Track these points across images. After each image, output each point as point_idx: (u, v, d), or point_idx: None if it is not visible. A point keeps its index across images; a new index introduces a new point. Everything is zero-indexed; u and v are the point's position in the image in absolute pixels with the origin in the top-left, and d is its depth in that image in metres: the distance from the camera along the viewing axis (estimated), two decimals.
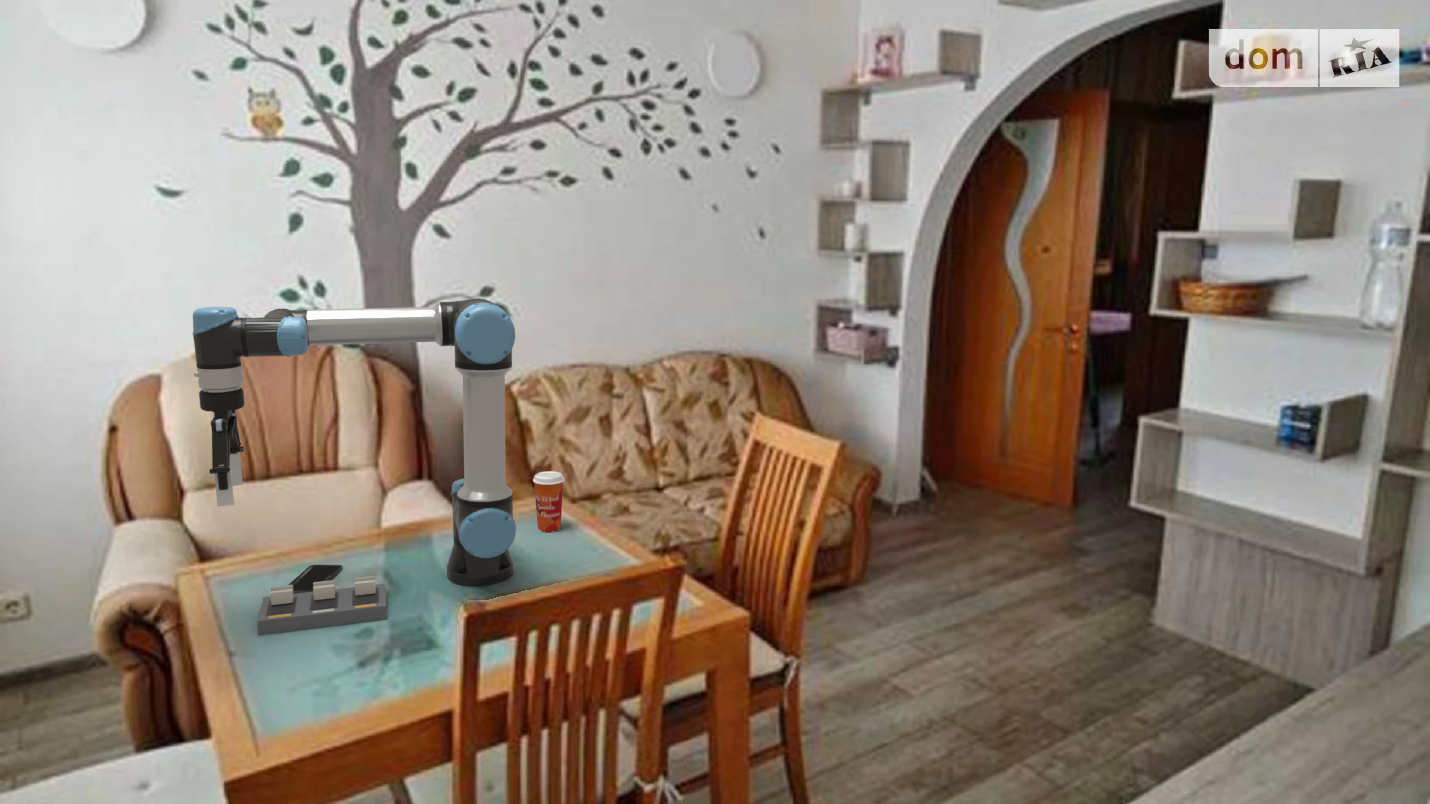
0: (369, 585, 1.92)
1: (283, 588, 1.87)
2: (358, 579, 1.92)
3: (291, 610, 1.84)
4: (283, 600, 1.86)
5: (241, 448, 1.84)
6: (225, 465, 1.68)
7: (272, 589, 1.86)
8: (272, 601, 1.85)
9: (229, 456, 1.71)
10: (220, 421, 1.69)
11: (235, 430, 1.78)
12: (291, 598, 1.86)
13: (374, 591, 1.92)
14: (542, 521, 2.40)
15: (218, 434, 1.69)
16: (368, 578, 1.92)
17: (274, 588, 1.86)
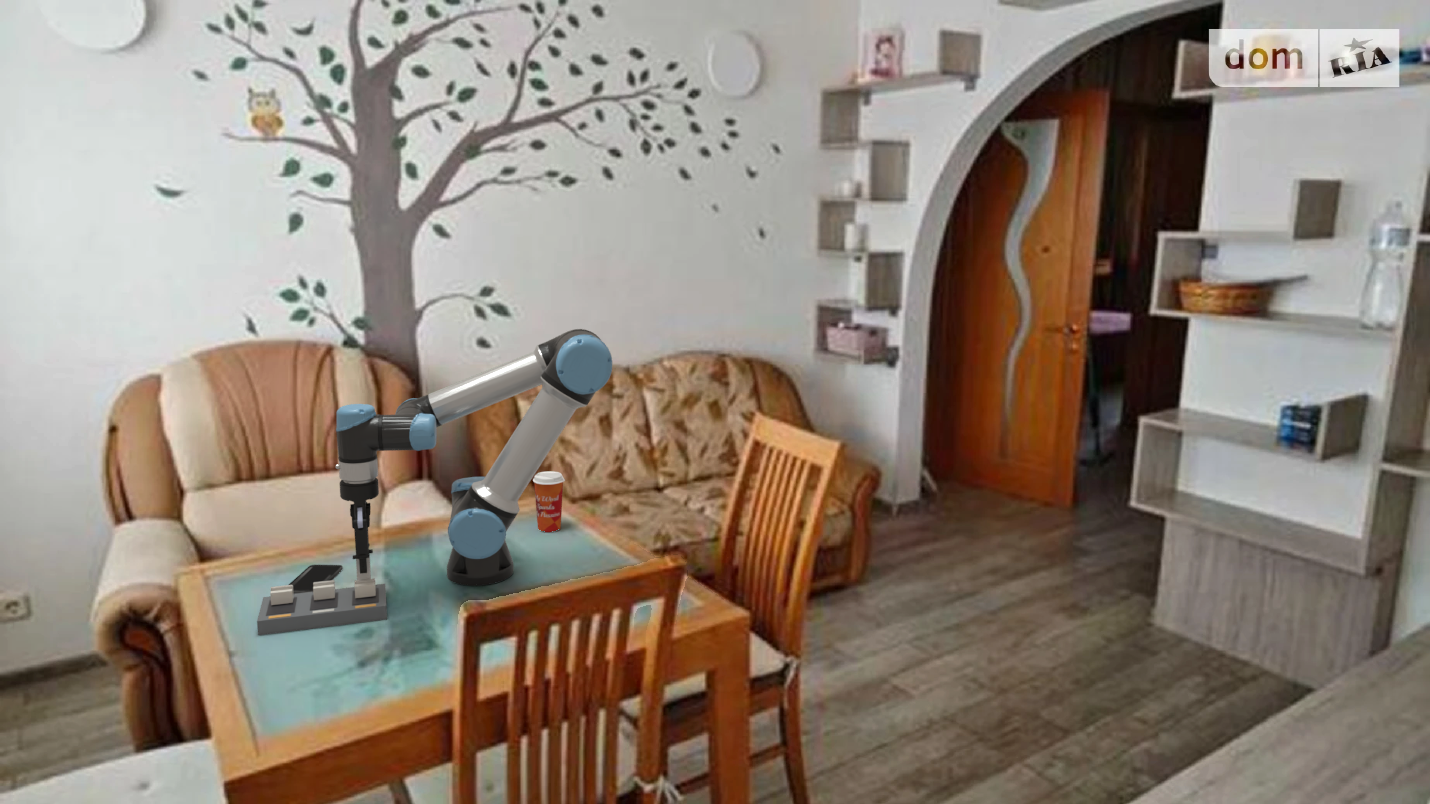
0: (369, 587, 1.90)
1: (283, 588, 1.87)
2: (358, 582, 1.90)
3: (291, 610, 1.84)
4: (283, 600, 1.86)
5: (370, 550, 1.94)
6: (367, 554, 1.89)
7: (272, 589, 1.86)
8: (272, 601, 1.85)
9: None
10: (361, 522, 1.85)
11: None
12: (291, 598, 1.86)
13: (374, 594, 1.91)
14: (542, 521, 2.40)
15: (360, 531, 1.86)
16: (368, 581, 1.91)
17: (274, 588, 1.86)
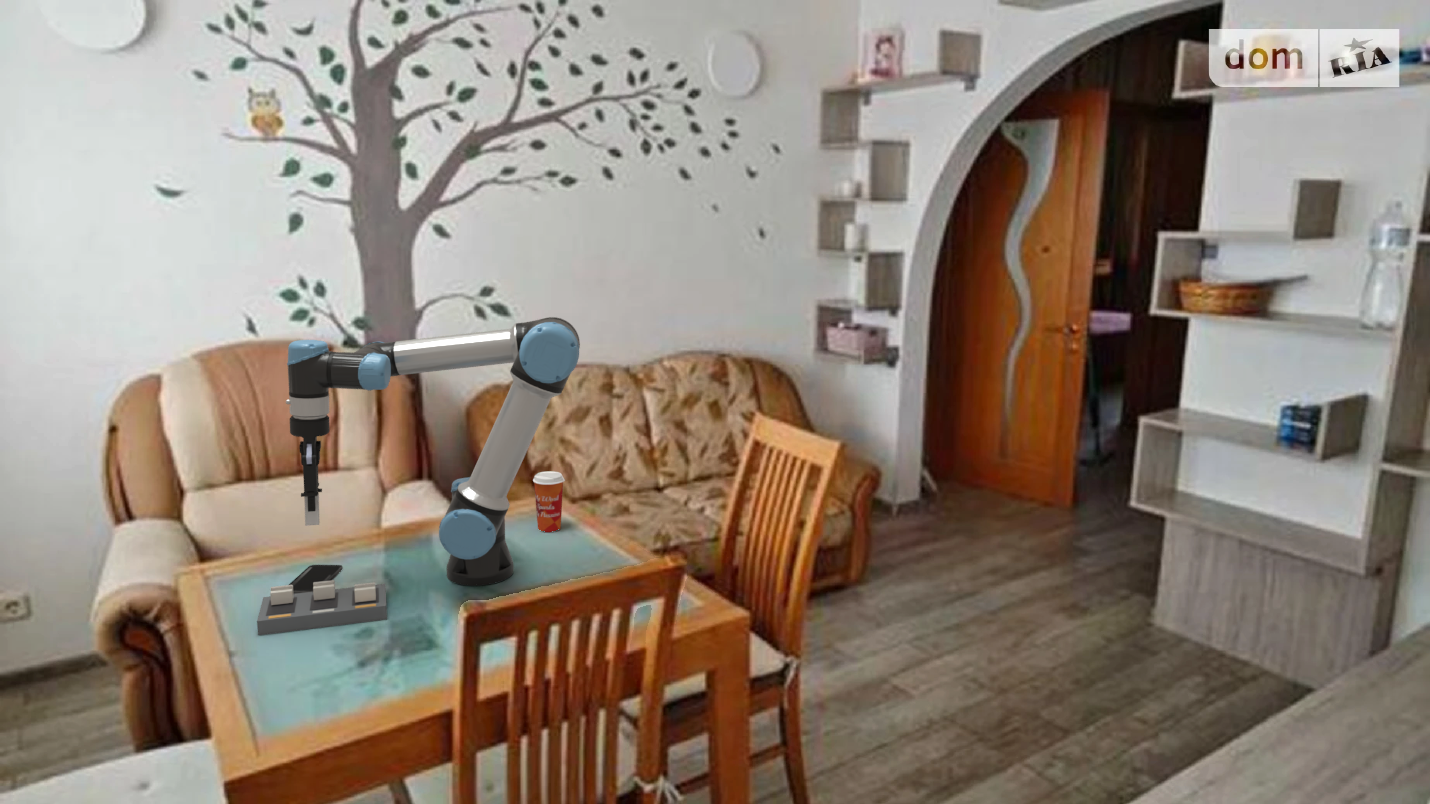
0: (369, 591, 1.88)
1: (283, 588, 1.87)
2: (358, 586, 1.88)
3: (291, 610, 1.84)
4: (283, 600, 1.86)
5: (320, 489, 1.92)
6: (315, 492, 1.87)
7: (272, 589, 1.86)
8: (272, 601, 1.85)
9: None
10: (310, 458, 1.83)
11: None
12: (291, 598, 1.86)
13: (374, 598, 1.89)
14: (542, 521, 2.40)
15: (308, 467, 1.84)
16: (368, 585, 1.89)
17: (274, 588, 1.86)
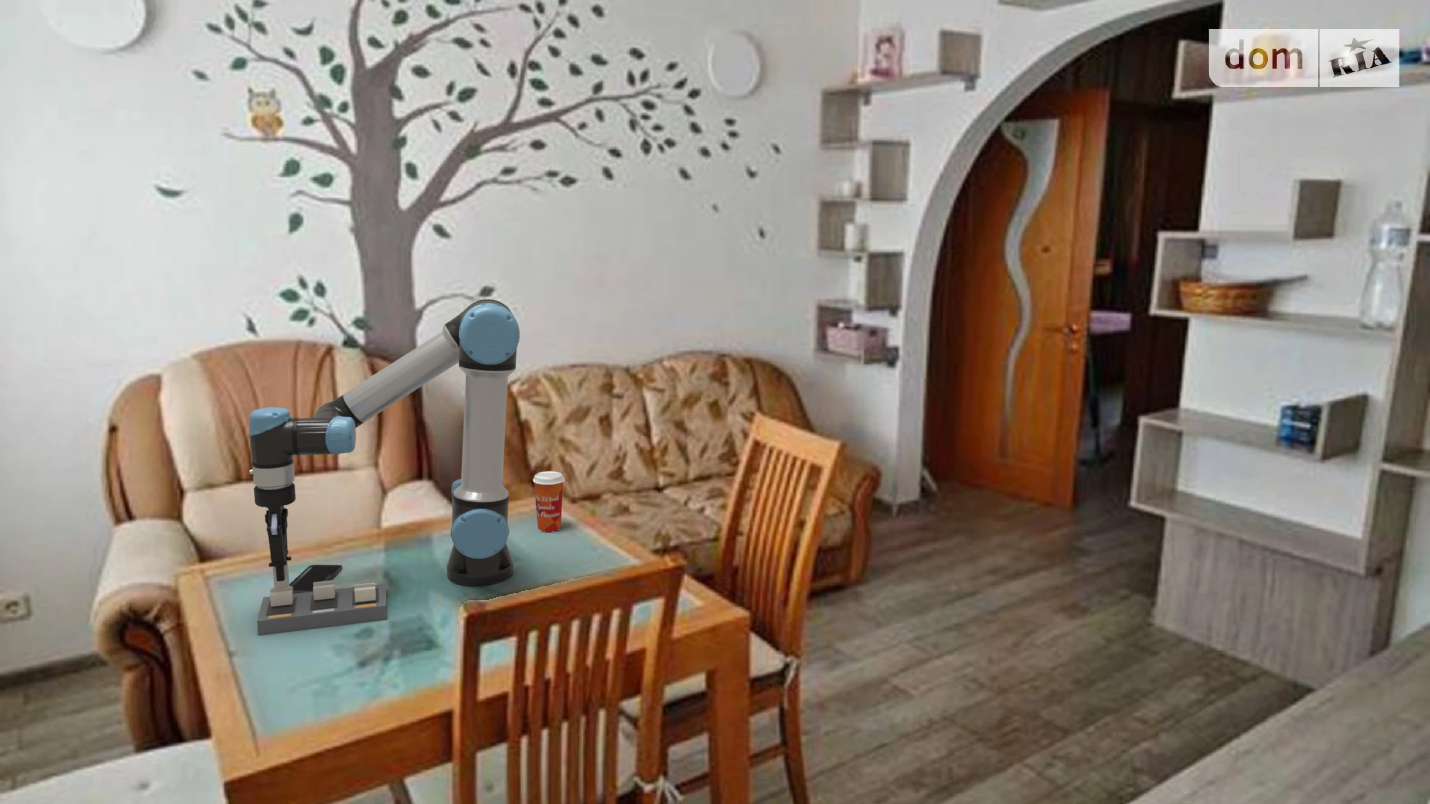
0: (369, 591, 1.88)
1: (283, 590, 1.86)
2: (358, 586, 1.88)
3: (291, 610, 1.84)
4: (283, 602, 1.85)
5: (289, 557, 1.89)
6: (283, 562, 1.84)
7: (272, 591, 1.85)
8: (272, 603, 1.85)
9: (285, 549, 1.86)
10: (275, 529, 1.80)
11: (285, 526, 1.87)
12: (291, 600, 1.86)
13: (374, 598, 1.89)
14: (542, 521, 2.40)
15: (274, 538, 1.81)
16: (368, 585, 1.89)
17: (274, 590, 1.85)
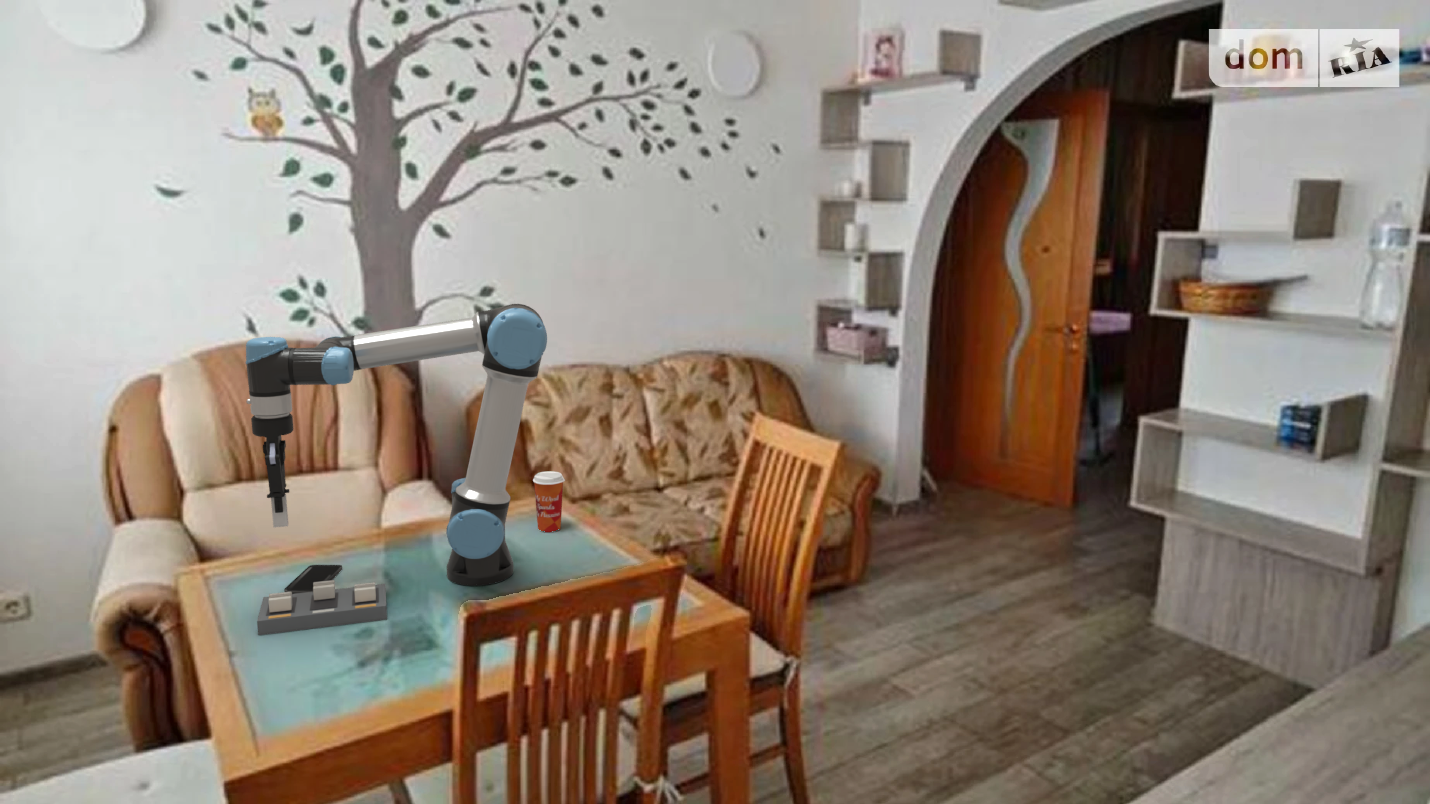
0: (369, 591, 1.88)
1: (281, 595, 1.83)
2: (358, 586, 1.88)
3: (291, 610, 1.84)
4: (281, 607, 1.83)
5: (287, 490, 1.88)
6: (281, 492, 1.83)
7: (270, 596, 1.83)
8: (270, 608, 1.82)
9: (283, 480, 1.85)
10: (274, 458, 1.79)
11: (283, 457, 1.86)
12: (290, 605, 1.83)
13: (374, 598, 1.89)
14: (542, 521, 2.40)
15: (272, 467, 1.80)
16: (368, 585, 1.89)
17: (272, 595, 1.83)
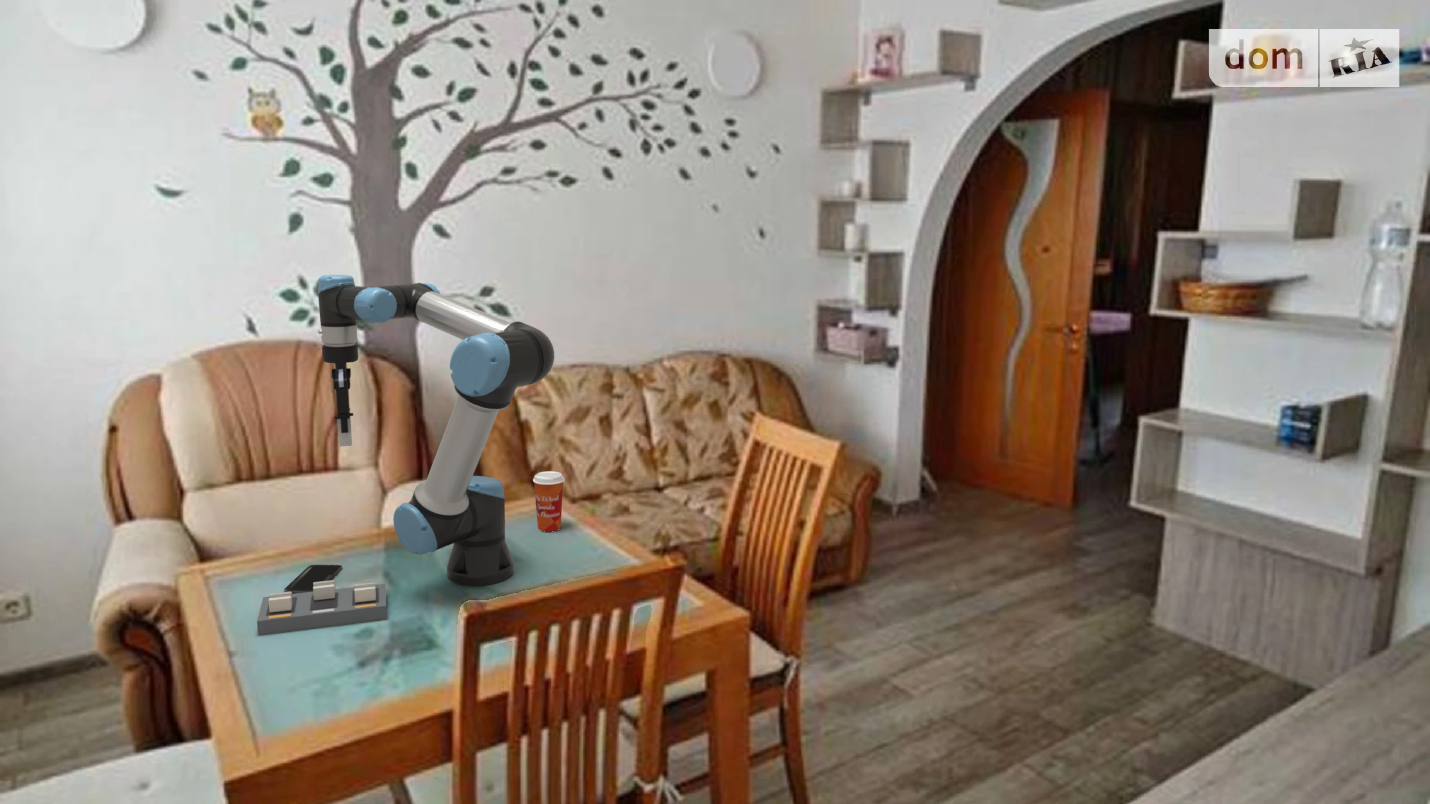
0: (369, 591, 1.88)
1: (281, 595, 1.83)
2: (358, 586, 1.88)
3: (291, 610, 1.84)
4: (281, 607, 1.83)
5: (351, 413, 2.10)
6: (347, 414, 2.05)
7: (270, 596, 1.83)
8: (270, 608, 1.82)
9: None
10: (342, 381, 2.01)
11: None
12: (290, 605, 1.83)
13: (374, 598, 1.89)
14: (542, 521, 2.40)
15: (341, 390, 2.02)
16: (368, 585, 1.89)
17: (272, 595, 1.83)
